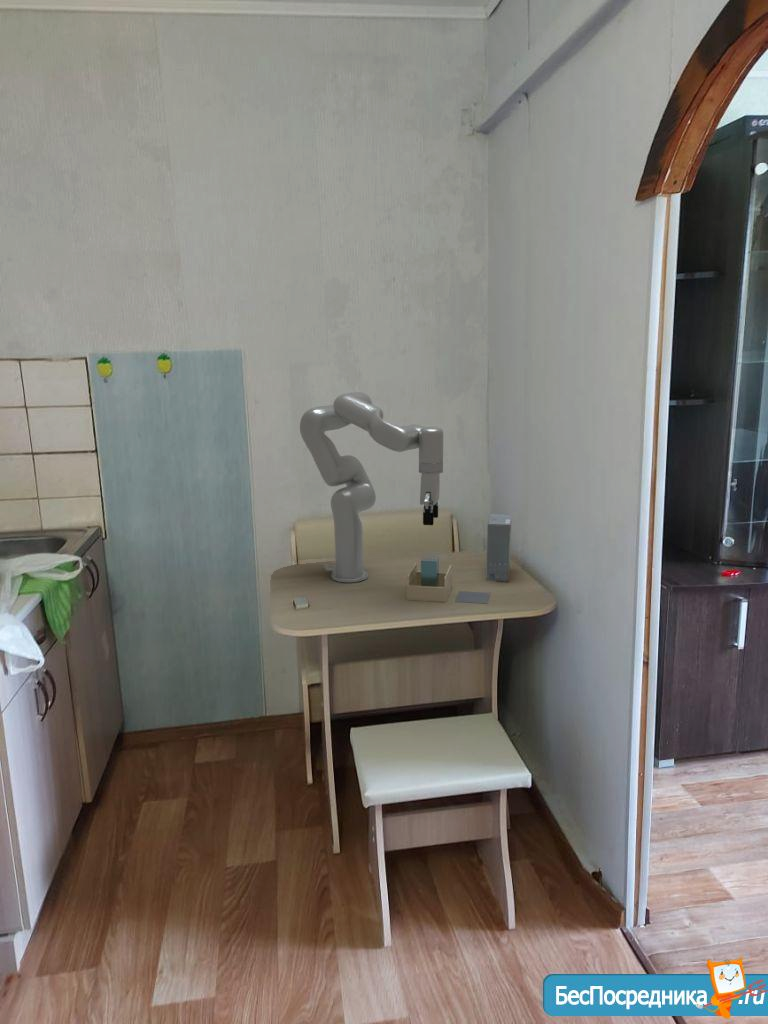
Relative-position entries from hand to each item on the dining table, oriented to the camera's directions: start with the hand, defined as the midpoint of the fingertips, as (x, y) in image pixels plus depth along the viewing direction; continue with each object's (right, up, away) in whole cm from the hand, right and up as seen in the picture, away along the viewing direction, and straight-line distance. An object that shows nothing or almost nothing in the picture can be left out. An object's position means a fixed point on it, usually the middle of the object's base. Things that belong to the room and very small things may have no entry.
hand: (430, 521), depth 237 cm
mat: (+13, -25, +1) cm, 28 cm away
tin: (0, -23, +5) cm, 24 cm away
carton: (0, -24, +5) cm, 24 cm away
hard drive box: (+25, -19, +24) cm, 39 cm away
